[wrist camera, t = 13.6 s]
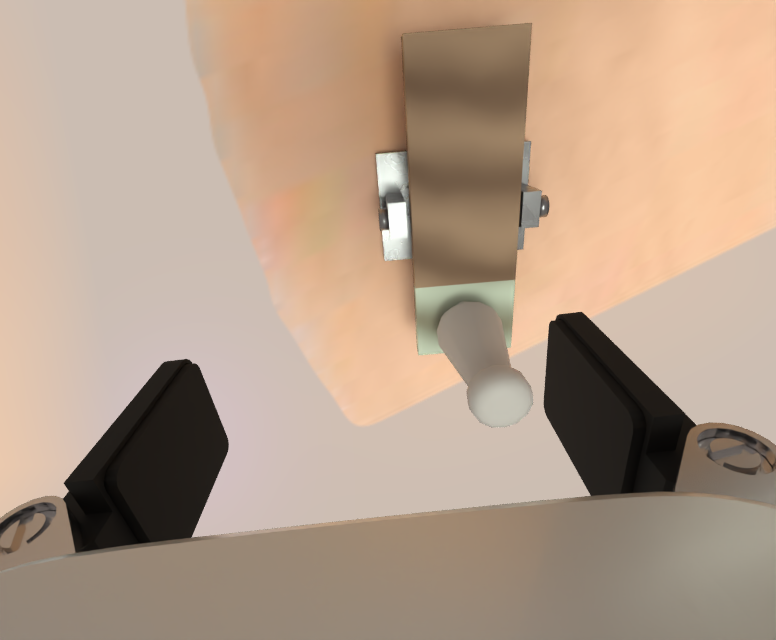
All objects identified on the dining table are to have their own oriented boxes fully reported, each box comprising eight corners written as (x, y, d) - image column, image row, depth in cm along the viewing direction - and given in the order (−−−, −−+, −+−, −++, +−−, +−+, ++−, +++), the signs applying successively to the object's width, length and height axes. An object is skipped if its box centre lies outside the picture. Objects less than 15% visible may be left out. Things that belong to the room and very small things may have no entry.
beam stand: (373, 153, 38) (374, 159, 32) (529, 140, 38) (555, 144, 32) (382, 257, 42) (384, 278, 37) (521, 246, 42) (543, 264, 37)
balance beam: (401, 37, 30) (402, 33, 28) (524, 27, 30) (531, 22, 29) (416, 347, 41) (418, 355, 40) (506, 339, 41) (510, 347, 40)
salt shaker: (444, 285, 37) (479, 362, 25) (504, 299, 38) (564, 380, 26) (425, 341, 39) (449, 434, 28) (481, 353, 40) (527, 449, 28)
